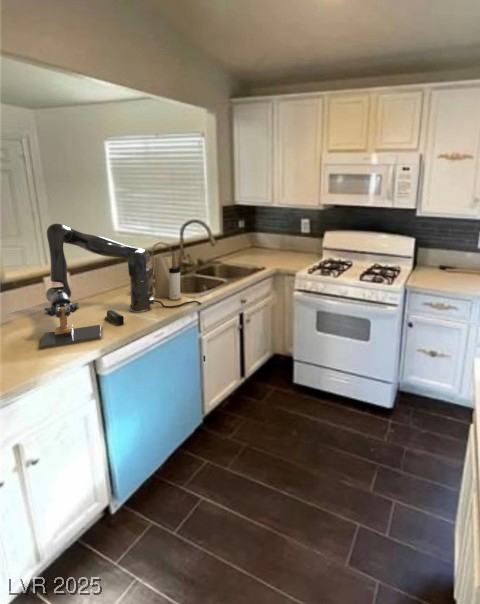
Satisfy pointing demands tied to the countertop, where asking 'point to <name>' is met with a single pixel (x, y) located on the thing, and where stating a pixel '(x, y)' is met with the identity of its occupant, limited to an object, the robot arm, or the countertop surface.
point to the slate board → (72, 337)
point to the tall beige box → (162, 274)
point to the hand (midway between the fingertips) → (63, 314)
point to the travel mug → (174, 283)
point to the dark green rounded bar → (115, 317)
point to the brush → (63, 325)
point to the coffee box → (150, 279)
